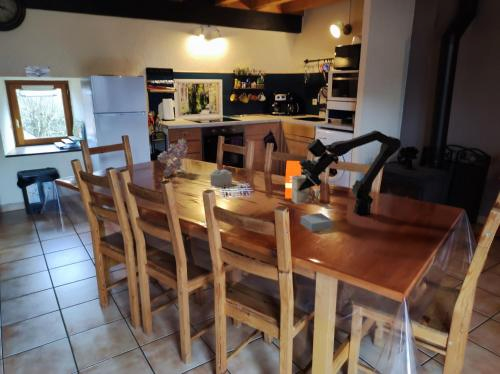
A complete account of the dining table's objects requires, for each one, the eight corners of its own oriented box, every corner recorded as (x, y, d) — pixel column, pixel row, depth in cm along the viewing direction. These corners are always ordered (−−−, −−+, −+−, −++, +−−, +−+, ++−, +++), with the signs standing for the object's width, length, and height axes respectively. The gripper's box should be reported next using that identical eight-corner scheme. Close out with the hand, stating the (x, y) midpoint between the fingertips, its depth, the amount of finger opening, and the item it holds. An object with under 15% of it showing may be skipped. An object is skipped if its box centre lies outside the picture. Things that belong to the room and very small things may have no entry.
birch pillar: (303, 199, 175) (304, 174, 172) (308, 202, 170) (309, 177, 166) (291, 200, 174) (292, 175, 170) (296, 204, 168) (297, 178, 165)
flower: (155, 168, 263) (152, 140, 246) (185, 162, 271) (184, 134, 255) (162, 186, 250) (160, 157, 233) (194, 179, 258) (194, 151, 242)
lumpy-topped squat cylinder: (233, 184, 228) (233, 170, 226) (215, 187, 221) (215, 173, 218) (224, 180, 236) (224, 167, 234) (207, 184, 229) (206, 170, 227)
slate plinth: (320, 221, 167) (320, 213, 166) (332, 229, 158) (332, 220, 157) (300, 224, 164) (300, 215, 163) (311, 232, 155) (311, 223, 154)
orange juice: (301, 199, 198) (302, 162, 192) (285, 198, 199) (285, 162, 194) (302, 194, 205) (303, 159, 200) (286, 194, 207) (287, 159, 201)
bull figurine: (314, 206, 186) (315, 191, 183) (303, 198, 198) (304, 184, 196) (322, 205, 187) (323, 190, 184) (311, 198, 199) (311, 183, 197)
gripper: (305, 148, 174) (282, 171, 177) (315, 156, 157) (289, 181, 159) (320, 164, 177) (297, 186, 179) (332, 173, 159) (306, 198, 162)
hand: (297, 188), depth 170 cm, fingers closed on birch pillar, 7 cm apart
